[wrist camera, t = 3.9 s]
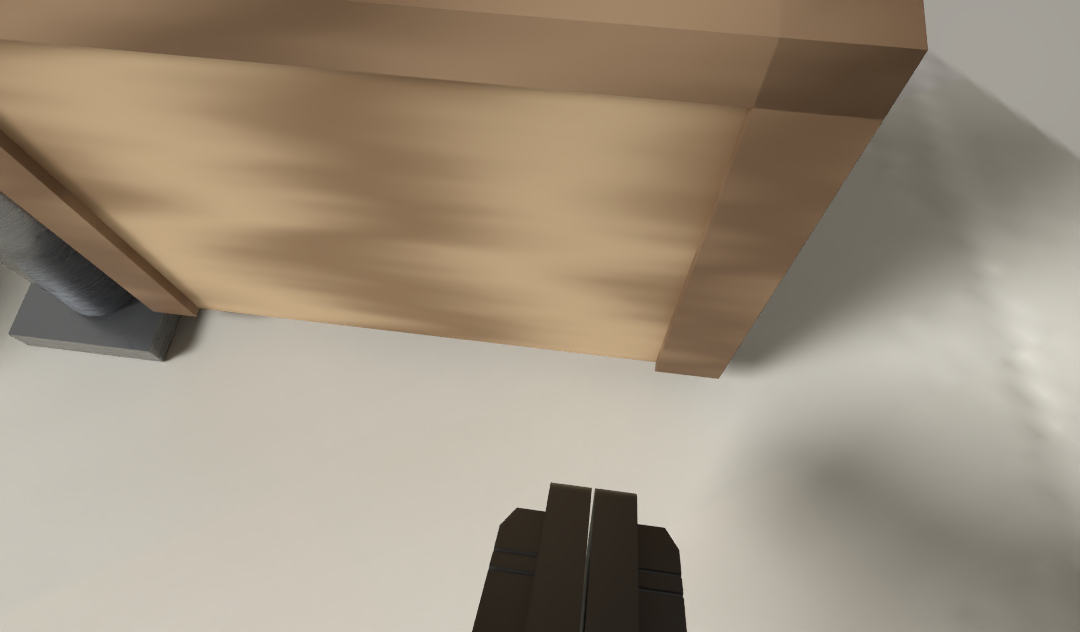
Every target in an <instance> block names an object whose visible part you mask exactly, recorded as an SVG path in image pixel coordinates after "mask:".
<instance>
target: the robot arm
mask: <svg viewBox="0 0 1080 632" xmlns="http://www.w3.org/2000/svg"><path fill="white" fill-rule="evenodd" d="M591 491H592V488H588V487H580V486H573V485H565V484H558V483H551V484H550V490H549V495H548V501H547V507H546V512H544V511H537V510H530V509H523V508H516V509H515V510H514V511H513V512H512V513H511V514H510V515H509V516H508V517H507V518H506V519H505V521H504V522H503V523H502V524H501V525H500V527H499V531H498V535H497V538H496V542H495V546H494V552H493V554H492V558H491V561H490V565H489V570H488V573H487V577H486V581H485V584H484V588H483V592H482V596H481V600H480V604H479V607H478V611H477V615H476V619H475V623H474V627H473V630H472V632H687V628H686V618H685V607H684V598H683V586H682V578H681V564H680V554H679V549H678V547H677V546H676V544H675V543H674V541H673V540H672V538H671V537H670V535H669V534H668V532H667V531H666V529H665V528H662V527H655V526H647V525H640V524H637V494H634V493H626V492H619V491H611V490H604V489H596V488H595V492H594V500H593V507H592V515H591V523H590V531H589V538H588V527H589V515H590V503H591ZM587 539H588V546H587ZM586 551H587V554H586Z"/></svg>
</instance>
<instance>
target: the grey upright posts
mask: <svg viewBox="0 0 1080 632" xmlns="http://www.w3.org/2000/svg"><path fill="white" fill-rule="evenodd" d="M0 262H1V263H3V264H4V265H6V266H7V267H9V268H10V269H12V270H13V271H15V272H16V273H18V274H19V275H21V276H22V277H24V278H25V279H27V280H28V281H30V282H31V285H30V287H29V289H28V292H27V294H26V296H25V298H24V300H23V303H22V305H21V307H20V309H19V311H18V314H17V316H16V318H15V320H14V323H13V325H12V327H11V329H10V331H9V335H10V336H12V337H14V338H16V339H18V340H20V341H22V342H23V343H25V344H27V345H33V346H41V347H49V348H57V349H65V350H73V351H81V352H89V353H97V354H105V355H113V356H122V357H130V358H138V359H146V360H154V361H162V362H163V361H164V358H165V355H166V352H167V350H168V347H169V344H170V341H171V338H172V336H173V333H174V330H175V327H176V324H177V322H178V319H179V316H180V315H178V314H170V313H161V312H153V311H152V310H151V309H150V308H148V307H147V306H146V305H144V304H143V303H142V302H141V301H139V300H138V299H137V298H136V297H134V296H133V295H132V294H131V293H129V292H128V291H127V290H125V289H124V288H123V287H122V286H120V285H119V284H118V283H117V282H115V281H114V280H113V279H112V278H110V277H109V276H108V275H106V274H105V273H104V272H103V271H101V270H100V269H99V268H98V267H96V266H95V265H94V264H92V263H91V262H90V261H89V260H87V259H86V258H85V257H84V256H82V255H81V254H80V253H79V252H77V251H76V250H75V249H73V248H72V247H71V246H70V245H68V244H67V243H66V242H65V241H63V240H62V239H61V238H60V237H58V236H57V235H56V234H54V233H53V232H52V231H51V230H49V229H48V228H47V227H46V226H44V225H43V224H42V223H40V222H39V221H38V220H37V219H35V218H34V217H33V216H32V215H30V214H29V213H28V212H27V211H25V210H24V209H23V208H21V207H20V206H19V205H18V204H16V203H15V202H14V201H13V200H11V199H10V198H9V197H7V196H6V195H5V194H4V193H2V192H1V191H0Z"/></svg>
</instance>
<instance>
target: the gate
mask: <svg viewBox="0 0 1080 632" xmlns="http://www.w3.org/2000/svg"><path fill="white" fill-rule="evenodd" d="M927 50H928V46H927V35H926V25H925V15H924V4H923V0H0V191H1V192H2V193H4V194H5V195H6V196H7V197H9V198H10V199H11V200H13V201H14V202H15V203H16V204H18V205H19V206H20V207H21V208H23V209H24V210H25V211H27V212H28V213H29V214H30V215H32V216H33V217H34V218H35V219H37V220H38V221H39V222H40V223H42V224H43V225H44V226H46V227H47V228H48V229H49V230H51V231H52V232H53V233H54V234H56V235H57V236H58V237H60V238H61V239H62V240H63V241H65V242H66V243H67V244H68V245H70V246H71V247H72V248H73V249H75V250H76V251H77V252H79V253H80V254H81V255H82V256H84V257H85V258H86V259H87V260H89V261H90V262H91V263H92V264H94V265H95V266H96V267H98V268H99V269H100V270H101V271H103V272H104V273H105V274H106V275H108V276H109V277H110V278H112V279H113V280H114V281H115V282H117V283H118V284H119V285H120V286H122V287H123V288H124V289H125V290H127V291H128V292H129V293H131V294H132V295H133V296H134V297H136V298H137V299H138V300H139V301H141V302H142V303H143V304H144V305H146V306H147V307H148V308H150V309H151V310H152V311H153V312H161V313H170V314H178V315H186V316H195V317H196V316H197V313H198V310H199V308H202V309H211V310H219V311H228V312H236V313H245V314H253V315H262V316H270V317H279V318H287V319H295V320H304V321H312V322H321V323H329V324H338V325H346V326H355V327H363V328H372V329H380V330H389V331H397V332H406V333H414V334H423V335H431V336H440V337H448V338H457V339H465V340H474V341H482V342H491V343H499V344H508V345H516V346H525V347H533V348H542V349H550V350H559V351H567V352H575V353H584V354H592V355H601V356H609V357H618V358H626V359H635V360H643V361H652V362H656V366H655V371H658V372H666V373H675V374H683V375H692V376H700V377H708V378H717V379H719V377H720V376H721V374H722V373H723V371H724V369H725V368H726V366H727V365H728V363H729V362H730V360H731V358H732V357H733V355H734V354H735V352H736V351H737V349H738V347H739V346H740V344H741V343H742V341H743V340H744V338H745V336H746V335H747V333H748V332H749V330H750V329H751V327H752V325H753V324H754V322H755V321H756V319H757V318H758V316H759V314H760V313H761V311H762V310H763V308H764V307H765V305H766V303H767V302H768V300H769V299H770V297H771V296H772V294H773V292H774V291H775V289H776V288H777V286H778V285H779V283H780V281H781V280H782V278H783V277H784V275H785V274H786V272H787V270H788V269H789V267H790V266H791V264H792V263H793V261H794V259H795V258H796V256H797V255H798V253H799V252H800V250H801V248H802V247H803V245H804V244H805V242H806V241H807V239H808V237H809V236H810V234H811V233H812V231H813V230H814V228H815V226H816V225H817V223H818V222H819V220H820V219H821V217H822V215H823V214H824V212H825V211H826V209H827V208H828V206H829V204H830V203H831V201H832V200H833V198H834V197H835V195H836V193H837V192H838V190H839V189H840V187H841V186H842V184H843V182H844V181H845V179H846V178H847V176H848V175H849V173H850V171H851V170H852V168H853V167H854V165H855V164H856V162H857V160H858V159H859V157H860V156H861V154H862V153H863V151H864V149H865V148H866V146H867V145H868V143H869V142H870V140H871V138H872V137H873V135H874V134H875V132H876V131H877V129H878V127H879V126H880V124H881V123H882V121H883V120H884V118H885V116H886V115H887V113H888V112H889V110H890V109H891V107H892V105H893V104H894V102H895V101H896V99H897V98H898V96H899V94H900V93H901V91H902V90H903V88H904V87H905V85H906V83H907V82H908V80H909V79H910V77H911V76H912V74H913V72H914V71H915V69H916V68H917V66H918V65H919V63H920V61H921V60H922V58H923V57H924V55H925V54H926V52H927Z"/></svg>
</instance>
